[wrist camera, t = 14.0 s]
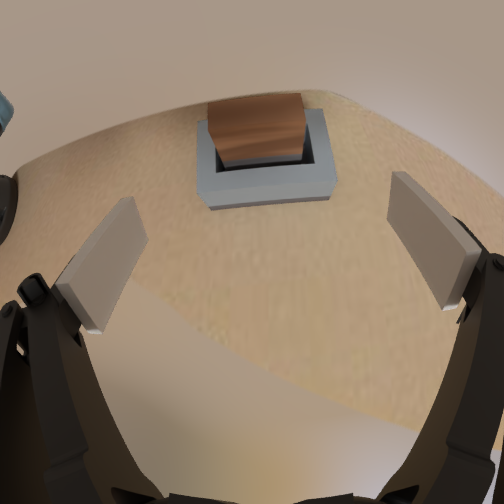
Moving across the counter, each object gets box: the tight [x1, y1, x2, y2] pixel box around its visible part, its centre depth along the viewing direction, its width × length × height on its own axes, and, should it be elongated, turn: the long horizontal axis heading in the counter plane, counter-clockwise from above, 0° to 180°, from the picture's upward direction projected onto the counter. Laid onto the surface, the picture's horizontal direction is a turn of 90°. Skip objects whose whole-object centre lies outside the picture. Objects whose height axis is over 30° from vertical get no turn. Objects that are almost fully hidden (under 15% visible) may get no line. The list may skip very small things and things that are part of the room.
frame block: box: [197, 109, 338, 210], centre depth 30 cm, size 9×14×6 cm, turn 94°
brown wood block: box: [208, 93, 306, 171], centre depth 26 cm, size 3×8×11 cm, turn 94°
